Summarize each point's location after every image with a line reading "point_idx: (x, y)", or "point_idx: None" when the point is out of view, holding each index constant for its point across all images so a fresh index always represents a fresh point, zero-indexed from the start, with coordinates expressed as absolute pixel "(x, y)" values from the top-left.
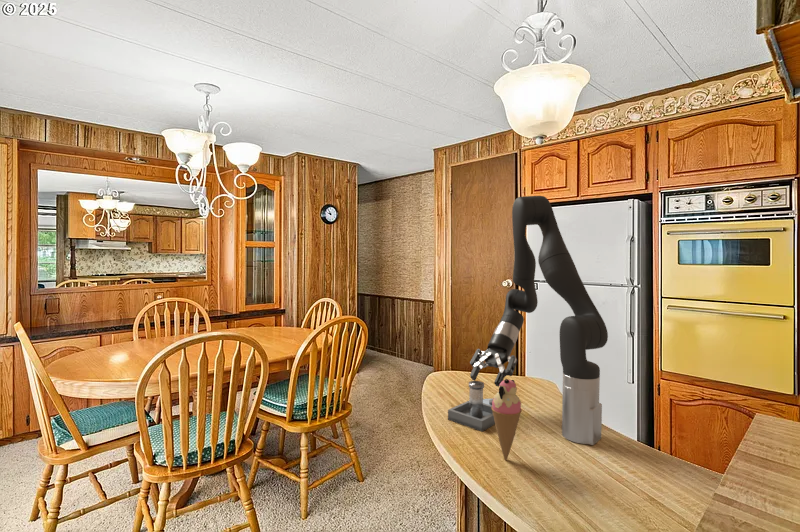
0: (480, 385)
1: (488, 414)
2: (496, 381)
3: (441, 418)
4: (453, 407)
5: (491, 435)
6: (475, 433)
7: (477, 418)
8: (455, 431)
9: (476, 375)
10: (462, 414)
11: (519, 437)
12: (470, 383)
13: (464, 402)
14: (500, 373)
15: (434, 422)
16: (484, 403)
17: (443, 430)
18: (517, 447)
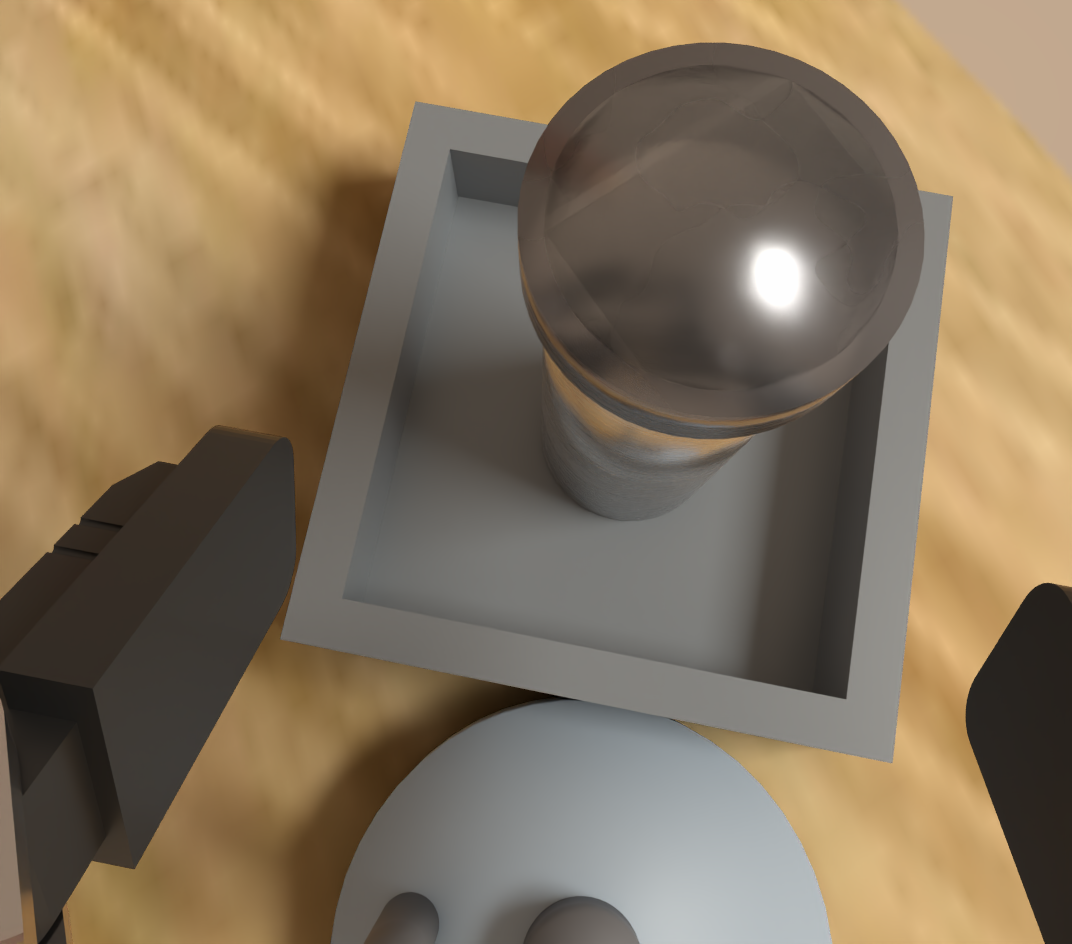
0: (557, 123)
1: (508, 572)
2: (211, 440)
3: (974, 250)
4: (937, 308)
5: (312, 150)
6: (473, 107)
7: (493, 143)
8: (669, 44)
9: (1032, 813)
10: None
11: (36, 257)
12: (833, 126)
13: (911, 574)
14: (16, 661)
15: (973, 117)
16: (705, 907)
17: (784, 3)
18: (11, 48)
